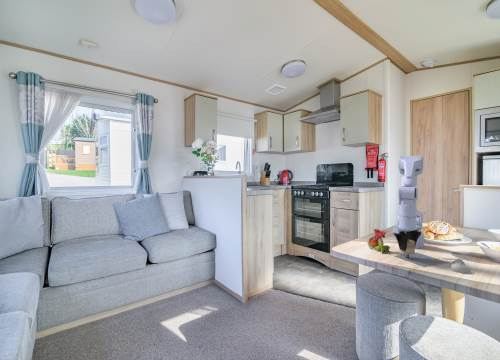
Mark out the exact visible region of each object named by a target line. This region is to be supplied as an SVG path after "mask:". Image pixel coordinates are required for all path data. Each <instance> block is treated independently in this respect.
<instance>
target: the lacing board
mask: <svg viewBox="0 0 500 360" xmlns="http://www.w3.org/2000/svg"><path fill="white" fill-rule="evenodd" d="M393 257H395V258H398V259H400V260H403V261H405V262H408V263H411V264H414V265H416V266H420V267H422V268H427V267H428V268H429V267H433V266H440V265H445V264H450V261H446V260H442V259H439V258H436V257H433V256H429V255H427V254H423V253H419V252H415V253H414V254H409V258H405V253H403V254H396V255H393Z"/></svg>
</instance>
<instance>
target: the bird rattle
mask: <svg viewBox="0 0 500 360" xmlns="http://www.w3.org/2000/svg"><path fill="white" fill-rule="evenodd" d="M373 231H374V233H375V234H372V235H370V236H369V237H368V238H367V245H368V248H369V250H373V251H376V252H379V251H380V253H381V254H383V253H384V252H385V251H386V252H390V249H391V247H390V245H385V244H384V240H383V238H384V239H385V238H386V234H387V231H381V230H380V229H378V228H374V229H373Z"/></svg>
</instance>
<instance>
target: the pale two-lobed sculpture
mask: <svg viewBox="0 0 500 360" xmlns="http://www.w3.org/2000/svg"><path fill="white" fill-rule="evenodd" d="M450 269H451V271H452V272H455V273H459V274H470V272H471V271H470V270H469V269H468V266H466V263H465V262H464V260H462V259H461V258H460V259H459V258H457V259H454V260H453V261H452V264H451V265H450Z"/></svg>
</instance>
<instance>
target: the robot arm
mask: <svg viewBox="0 0 500 360" xmlns="http://www.w3.org/2000/svg"><path fill="white" fill-rule="evenodd" d="M397 164H398V172H399V173H400V175H403V176H401V178H400V186H399V187H398V188H397V196H398V197H397V198H398V205H399V211H398V213H397V225H396V226H395V227H393V228H392V234H393V236H394V237H395V239H396V242H397V244H398V249H399V251H400V250H403V251H406V247H407V241H408V240H413V241H415V249H419V248H425V246H424V245H425V235H424V232H423V231H422V230H423V214H422V212H421V211H419V210H417V201H418V198H419V197H418V196H419V195H418V193H419V191H418V190H419V189H418V185H417V184H418V176H419V175H421V174H423V172H424V155H422V154H421V155H405V156H404V155H400V156H399V157H398V163H397Z"/></svg>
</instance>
